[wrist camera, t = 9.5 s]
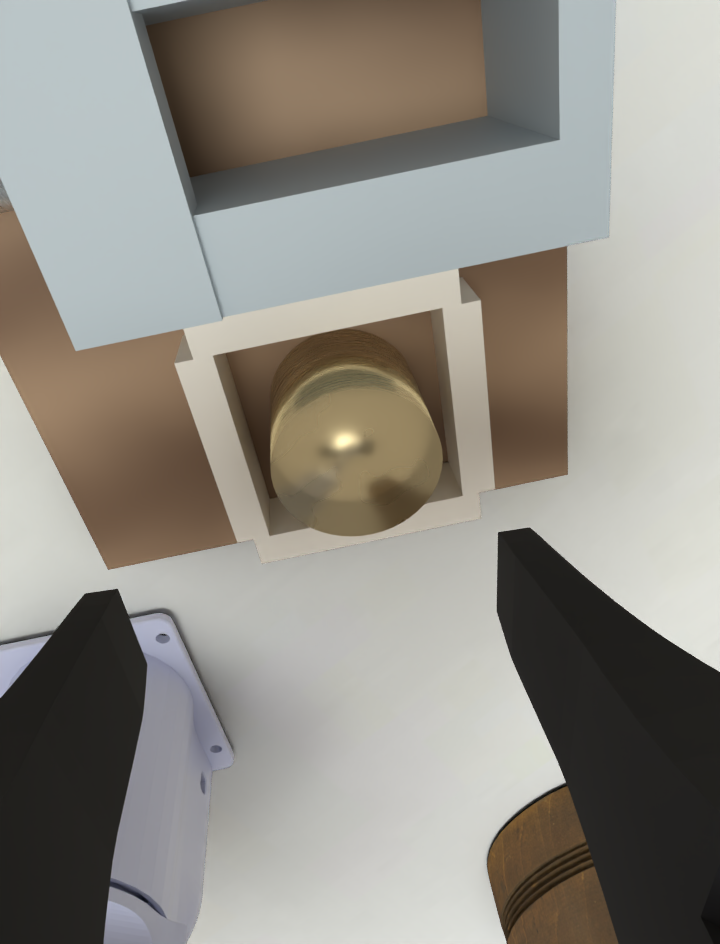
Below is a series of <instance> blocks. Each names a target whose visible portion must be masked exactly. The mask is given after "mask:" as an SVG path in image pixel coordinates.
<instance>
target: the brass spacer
mask: <svg viewBox="0 0 720 944" xmlns="http://www.w3.org/2000/svg"><path fill="white" fill-rule="evenodd" d="M270 461H271V478H272V483H273V487H274V489H275V492H276V494H277V496H278V498H279V500H280V501H281V503H282V504H283V506H284V507H285V508H286V509H287V511H288V512H289V513H290V514H291V515H293V516H294V517H295V518H296V519H297V520H299V521H300V522H302V523H303V524H305V525H307V526H309V527H310V528H313V529H315V530H318V531H320V532H323V533H327V534H331V535H337V536H351V537H352V536H365V535H371V534H375V533H379V532H382V531H385V530H388V529H390V528H393V527H395V526H397V525H399V524H401V523H402V522H404V521H405V520H407V519H408V518H410V517H411V516H412V515H414V514H415V513H416V512H417V511H418V510H419V509H420V508H421V507H422V506H423V505H424V504H425V503H426V502H427V500H428V499H429V498H430V496H431V495H432V493H433V491H434V490H435V488H436V486H437V483H438V481H439V478H440V474H441V470H442V462H443V455H442V446H441V442H440V439H439V436H438V433H437V431H436V429H435V426H434V424H433V421H432V419H431V417H430V414H429V412H428V410H427V407H426V405H425V403H424V400H423V398H422V396H421V393H420V391H419V389H418V386H417V384H416V382H415V379H414V377H413V375H412V372H411V370H410V368H409V365H408V364H407V362H406V360H405V358H404V357H403V356H402V355H401V353H400V352H399V351H398V350H397V349H396V348H395V347H394V346H393V345H391V344H390V343H389V342H387V341H386V340H384V339H382V338H381V337H379V336H377V335H374V334H371V333H369V332H365V331H361V330H354V329H338V330H333V331H329V332H324V333H319V334H316V335H314V336H312V337H309V338H308V339H306V340H304V341H303V342H301V343H300V344H298V345H297V346H296V347H294V348H293V349H292V350H291V351H290V352H289V353H288V354H287V355H286V357H285V358H284V359H283V361H282V362H281V363H280V365H279V367H278V369H277V371H276V373H275V376H274V378H273V382H272V386H271V395H270Z"/></svg>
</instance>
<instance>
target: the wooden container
mask: <svg viewBox="0 0 720 944" xmlns="http://www.w3.org/2000/svg"><path fill="white" fill-rule="evenodd" d="M487 868H488V875H489V879H490V883H491V887H492V891H493V895H494V899H495V903H496V907H497V911H498V915H499V918H500V922H501V926H502V929H503V932H504V935H505V938H506V941H507V944H618V940H617V937H616V934H615V931H614V927H613V924H612V921H611V917H610V914H609V911H608V908H607V904H606V901H605V898H604V894H603V891H602V888H601V885H600V882H599V879H598V876H597V873H596V870H595V866H594V863H593V860H592V857H591V854H590V851H589V848H588V845H587V842H586V839H585V836H584V833H583V830H582V827H581V824H580V821H579V818H578V815H577V812H576V809H575V806H574V803H573V800H572V797H571V794H570V791H569V788H568V786H565V787H563V788H561V789H559V790H557V791H555V792H553V793H551V794H549V795H547V796H545V797H544V798H542V799H540V800H539V801H537V802H535V803H534V804H533V805H531V806H530V807H528V808H527V809H526V810H524V811H523V812H522V813H520V814H519V815H518V816H517V817H516V818H514V819H513V820H512V821H511V822H510V823H509V824H508V825H507V826H506V827H505V828H504V829H503V830H502V832H501V833H500V834H499V835H498V837H497V838H496V840H495V841H494V843H493V845H492V847H491V849H490V852H489V856H488V862H487Z"/></svg>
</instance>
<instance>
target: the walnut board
mask: <svg viewBox="0 0 720 944" xmlns="http://www.w3.org/2000/svg"><path fill="white" fill-rule="evenodd" d="M146 29H147V33H148V36H149V40H150V43H151V46H152V50H153V53H154V57H155V60H156V64H157V67H158V70H159V74H160V77H161V81H162V84H163V88H164V91H165V95H166V98H167V101H168V105H169V108H170V112H171V115H172V119H173V122H174V125H175V129H176V132H177V136H178V139H179V143H180V146H181V150H182V153H183V156H184V160H185V163H186V167H187V170H188V174H189V177H195V176H200V175H204V174H209V173H214V172H219V171H224V170H229V169H233V168H238V167H243V166H248V165H253V164H257V163H262V162H267V161H272V160H277V159H282V158H286V157H291V156H296V155H301V154H306V153H311V152H315V151H320V150H325V149H330V148H335V147H339V146H344V145H349V144H354V143H359V142H364V141H368V140H373V139H378V138H383V137H388V136H392V135H397V134H402V133H407V132H412V131H417V130H421V129H426V128H431V127H436V126H441V125H446V124H450V123H455V122H460V121H465V120H470V119H474V118H479V117H484V116H488V113H487V96H486V80H485V63H484V47H483V30H482V14H481V0H267V1H262V2H257V3H253V4H248V5H243V6H238V7H233V8H228V9H224V10H219V11H214V12H209V13H204V14H199V15H195V16H190V17H185V18H180V19H175V20H171V21H166V22H161V23H156V24H151V25H146ZM458 271H459V278H461V277H462V278H463V279H464V280H465V281H466V283H467V284H468V285H469V286H470V287H471V289H472V290H473V291H474V292H475V294H476V295H477V296H478V297H479V299H480V300H481V311H482V324H483V337H484V350H485V363H486V377H487V390H488V403H489V416H490V429H491V442H492V456H493V469H494V482H495V489H500V488H505V487H510V486H515V485H519V484H524V483H529V482H534V481H539V480H544V479H548V478H553V477H558V476H563V475H568V452H567V246H564V247H560V248H555V249H550V250H545V251H540V252H536V253H531V254H526V255H521V256H516V257H511V258H507V259H502V260H497V261H492V262H487V263H483V264H478V265H473V266H468V267H463V268H458ZM343 329H354V330H361V331H365V332H369V333H371V334H374V335H377V336H379V337H381V338H382V339H384V340H386V341H387V342H389V343H390V344H391V345H393V346H394V347H395V348H396V349H397V350H398V351H399V352H400V353H401V355H402V356H403V357H404V358H405V360H406V362H407V364H408V365H409V368H410V370H411V372H412V375H413V377H414V379H415V382H416V384H417V386H418V389H419V391H420V393H421V396H422V398H423V400H424V403H425V405H426V407H427V410H428V412H429V414H430V417H431V419H432V421H433V424H434V426H435V429H436V431H437V433H438V436H439V439H440V442H441V446H442V455H443V462H442V463H445V462H448V455H447V446H446V438H445V429H444V421H443V413H442V404H441V396H440V388H439V379H438V371H437V362H436V354H435V346H434V337H433V329H432V320H431V312H430V311H425V312H420V313H415V314H411V315H406V316H401V317H396V318H391V319H387V320H382V321H377V322H372V323H367V324H362V325H358V326H353V327H348V328H343ZM183 335H185V333H184V330H183V329H180V330H175V331H170V332H166V333H161V334H156V335H151V336H146V337H141V338H137V339H132V340H127V341H122V342H117V343H113V344H108V345H103V346H98V347H93V348H88V349H84V350H79V351H76V350H75V348H74V346H73V344H72V341H71V339H70V337H69V334H68V332H67V330H66V328H65V325H64V323H63V321H62V318H61V316H60V314H59V311H58V309H57V307H56V305H55V302H54V300H53V298H52V295H51V293H50V291H49V288H48V286H47V284H46V282H45V279H44V277H43V275H42V272H41V270H40V268H39V265H38V263H37V261H36V259H35V256H34V254H33V252H32V249H31V247H30V245H29V243H28V240H27V238H26V236H25V233H24V231H23V229H22V226H21V224H20V222H19V220H18V217H17V215H16V213H15V210H14V211H10V212H5V213H0V356H1V358H2V360H3V362H4V364H5V366H6V368H7V370H8V372H9V374H10V376H11V378H12V380H13V382H14V384H15V386H16V388H17V390H18V392H19V394H20V396H21V398H22V400H23V401H24V403H25V405H26V407H27V409H28V411H29V413H30V415H31V417H32V419H33V421H34V423H35V425H36V427H37V429H38V431H39V433H40V435H41V437H42V439H43V441H44V443H45V445H46V447H47V449H48V451H49V453H50V455H51V457H52V459H53V461H54V463H55V465H56V467H57V469H58V471H59V473H60V475H61V477H62V479H63V481H64V483H65V485H66V487H67V489H68V491H69V493H70V495H71V497H72V499H73V501H74V503H75V505H76V507H77V509H78V511H79V513H80V515H81V517H82V519H83V521H84V523H85V525H86V527H87V529H88V531H89V533H90V535H91V537H92V539H93V541H94V542H95V544H96V546H97V548H98V550H99V552H100V554H101V556H102V558H103V560H104V562H105V564H106V566H107V568H108V570H109V569H114V568H119V567H124V566H129V565H134V564H138V563H143V562H148V561H153V560H158V559H162V558H167V557H172V556H177V555H182V554H187V553H191V552H196V551H201V550H206V549H211V548H216V547H220V546H225V545H230V544H235V543H237V540H236V537H235V534H234V532H233V529H232V526H231V523H230V520H229V517H228V515H227V512H226V509H225V506H224V503H223V500H222V498H221V495H220V492H219V489H218V486H217V483H216V481H215V478H214V475H213V472H212V469H211V466H210V464H209V461H208V458H207V455H206V452H205V449H204V447H203V444H202V441H201V438H200V435H199V432H198V430H197V427H196V424H195V421H194V418H193V415H192V413H191V410H190V407H189V404H188V401H187V398H186V395H185V393H184V390H183V387H182V384H181V381H180V378H179V376H178V373H177V370H176V367H175V364H174V363H175V359H176V356H177V353H178V349H179V346H180V343H181V339H182V336H183ZM314 335H316V334H314ZM314 335H309V336H305V337H300V338H295V339H290V340H285V341H280V342H276V343H271V344H266V345H261V346H256V347H251V348H247V349H242V350H237V351H232V352H227V353H226V357H227V360H228V363H229V367H230V370H231V373H232V376H233V380H234V383H235V386H236V390H237V393H238V396H239V399H240V403H241V406H242V409H243V413H244V416H245V419H246V422H247V426H248V429H249V432H250V436H251V439H252V442H253V445H254V449H255V452H256V455H257V459H258V462H259V465H260V468H261V472H262V475H263V478H264V482H265V485H266V488H267V491H268V495H269V498H270V499H272V498H276V497H278V496H277V494H276V492H275V489H274V487H273V483H272V478H271V461H270V395H271V386H272V382H273V378H274V376H275V373H276V371H277V369H278V367H279V365H280V363H281V362H282V361H283V359H284V358H285V357H286V355H287V354H288V353H289V352H290V351H291V350H292V349H293V348H294V347H296V346H297V345H298V344H300V343H301V342H303V341H304V340H306V339H308V338H309V337H312V336H314ZM485 492H486V491H485ZM480 493H481V492H480ZM239 543H240V542H239Z"/></svg>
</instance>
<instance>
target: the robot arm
mask: <svg viewBox="0 0 720 944" xmlns="http://www.w3.org/2000/svg"><path fill="white" fill-rule="evenodd" d="M497 613H498V616H499V620H500V623H501V626H502V630H503V633H504V636H505V639H506V643H507V646H508V649H509V652H510V655H511V658H512V660H513V663H514V665H515V667H516V670H517V672H518V674H519V676H520V679H521V681H522V683H523V685H524V688H525V690H526V692H527V694H528V697H529V699H530V701H531V703H532V705H533V708H534V710H535V712H536V714H537V716H538V719H539V721H540V723H541V725H542V728H543V730H544V732H545V734H546V736H547V739H548V741H549V743H550V745H551V747H552V750H553V752H554V754H555V756H556V759H557V761H558V763H559V766H560V768H561V771H562V773H563V776H564V778H565V781H566V783H567V786H568V788H569V791H570V794H571V797H572V800H573V803H574V806H575V809H576V812H577V815H578V818H579V821H580V824H581V827H582V830H583V833H584V836H585V839H586V842H587V845H588V848H589V851H590V854H591V857H592V860H593V863H594V866H595V870H596V873H597V876H598V879H599V882H600V885H601V888H602V891H603V894H604V898H605V901H606V904H607V908H608V911H609V914H610V917H611V921H612V924H613V927H614V931H615V934H616V937H617V940H618V944H720V672H719V671H717V670H715V669H714V668H712V667H710V666H709V665H707V664H705V663H703V662H702V661H700V660H699V659H697V658H695V657H694V656H692V655H691V654H689V653H687V652H686V651H684V650H683V649H681V648H679V647H678V646H676V645H675V644H673V643H672V642H670V641H668V640H667V639H665V638H664V637H662V636H661V635H660V634H658V633H657V632H655V631H654V630H652V629H651V628H650V627H648V626H647V625H646V624H644V623H643V622H641V621H640V620H639V619H637V618H636V617H635V616H633V615H632V614H631V613H629V612H628V611H627V610H625V609H624V608H623V607H622V606H620V605H619V604H618V603H616V602H615V601H614V600H613V599H611V598H610V597H609V596H608V595H607V594H605V593H604V592H603V591H602V590H600V589H599V588H598V587H597V586H596V585H594V584H593V583H592V582H591V581H589V580H588V579H587V578H586V577H585V576H584V575H582V574H581V573H580V572H579V571H578V570H577V569H576V568H574V567H573V566H572V565H571V564H570V563H569V562H568V561H567V560H565V559H564V558H563V557H562V556H561V555H560V554H559V553H558V552H557V551H555V550H554V549H553V548H552V547H551V546H550V545H549V544H548V543H547V542H546V541H544V540H543V539H542V538H541V537H540V536H539V535H538V534H537V533H536V532H535V531H533V530H532V529H531V528H524V529H517V530H510V531H503V532H498V569H497ZM159 634H167V636H162V635H159ZM233 763H234V753H233V751H232V748H231V746H230V744H229V742H228V740H227V737H226V735H225V733H224V731H223V729H222V727H221V724H220V722H219V720H218V718H217V716H216V714H215V711H214V709H213V707H212V705H211V703H210V700H209V698H208V696H207V694H206V692H205V690H204V687H203V685H202V683H201V681H200V679H199V676H198V674H197V672H196V670H195V668H194V666H193V663H192V661H191V659H190V657H189V655H188V652H187V650H186V648H185V646H184V644H183V642H182V639H181V637H180V635H179V633H178V631H177V628H176V626H175V624H174V622H173V620H172V619H171V617H170V616H168V615H166V614H163V613H155V614H150V615H145V616H140V617H135V618H130V619H129V616H128V614H127V611H126V608H125V606H124V603H123V601H122V598H121V596H120V593H119V591H118V589H113V590H107V591H100V592H93V593H86V594H84V595H83V597H82V598H81V599H80V600H79V602H78V603H77V604H76V605H75V607H74V608H73V609H72V610H71V612H70V613H69V614H68V615H67V617H66V618H65V619H64V620H63V622H62V623H61V624H60V626H59V627H58V628H57V629H56V631H55V632H54V633H53V634H52V635H48V636H44V637H39V638H34V639H29V640H24V641H20V642H15V643H10V644H5V645H0V944H187V941H188V939H189V937H190V935H191V933H192V931H193V928H194V926H195V924H196V921H197V918H198V915H199V911H200V907H201V902H202V894H203V882H204V869H205V857H206V844H207V832H208V819H209V807H210V794H211V782H212V771H216V770H220V769H225V768H228V767H230V766H231V765H232V764H233Z"/></svg>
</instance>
